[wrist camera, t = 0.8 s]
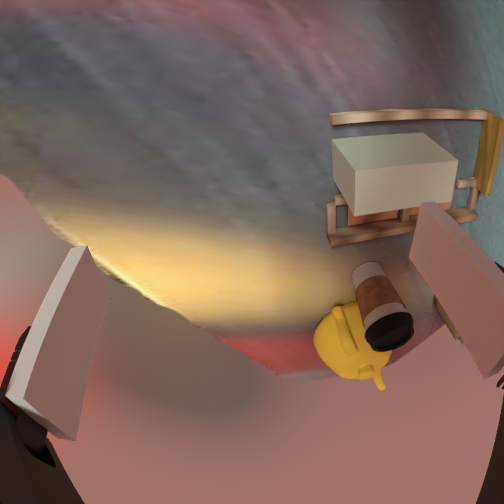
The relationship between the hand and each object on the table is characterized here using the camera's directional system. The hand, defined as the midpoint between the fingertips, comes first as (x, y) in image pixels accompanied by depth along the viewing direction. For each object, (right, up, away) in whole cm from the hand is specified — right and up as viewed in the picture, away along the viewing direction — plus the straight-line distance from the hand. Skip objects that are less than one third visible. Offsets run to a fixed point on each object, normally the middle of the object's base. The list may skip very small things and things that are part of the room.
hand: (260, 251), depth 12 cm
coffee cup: (+20, -4, +43) cm, 48 cm away
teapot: (+22, -16, +54) cm, 60 cm away
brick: (+17, +13, +28) cm, 35 cm away
